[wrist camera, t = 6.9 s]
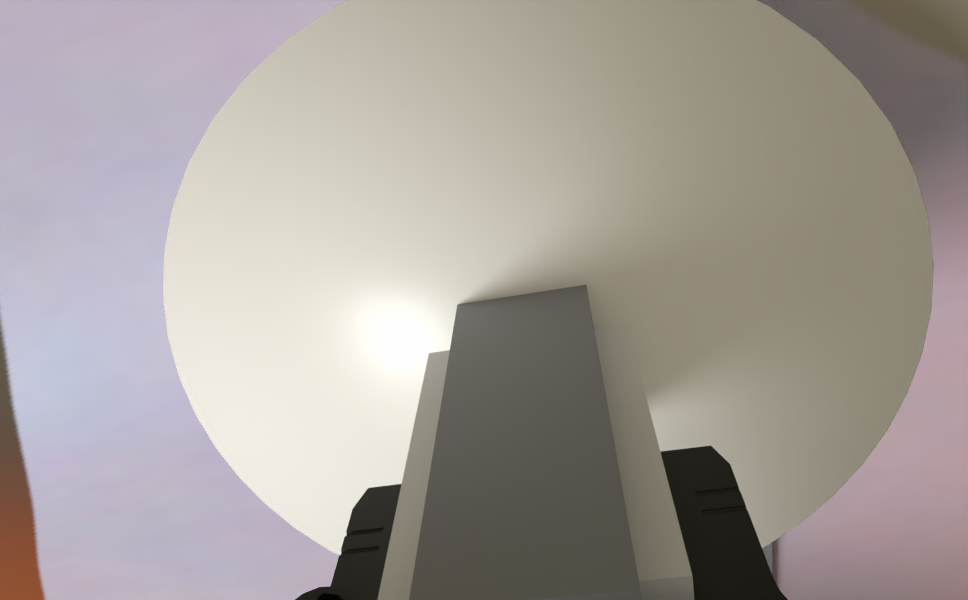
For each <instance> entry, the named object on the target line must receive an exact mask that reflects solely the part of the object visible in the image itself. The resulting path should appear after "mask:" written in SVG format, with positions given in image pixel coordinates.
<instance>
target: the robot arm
mask: <svg viewBox="0 0 968 600" xmlns="http://www.w3.org/2000/svg"><path fill="white" fill-rule="evenodd" d="M594 331H595V336H596V342H597V348H598V353H599V359H600V365H601V370H602V376H603V382H604V387H605V393H606V399H607V404H608V410H609V416H610V421H611V427H612V432H613V438H614V444H615V449H616V455H617V461H618V466H619V472H620V478H621V483H622V489H623V495H624V500H625V506H626V512H627V517H628V523H629V529H630V534H631V540H632V546H633V551H634V557H635V563H636V568H637V574H638V579H639V585H640V591H641V598H642V600H788V599H787V598H786V597H785V596H784V595H783V594H782V593H781V591H780V590H779V588H778V586H777V584H776V582H775V581H774V578H773V576H772V573H771V570H770V568H769V565H768V563H767V560H766V557H765V555H764V552H763V549H762V547H761V544H760V542H759V539H758V536H757V534H756V531H755V528H754V526H753V523H752V520H751V518H750V515H749V513H748V510H747V509H746V505H745V502H744V499H743V497H742V494H741V492H740V491H739V486H738V484H737V481H736V478H735V476H734V473H733V470H732V468H731V465H730V463H728V462H727V461H726V460H725V459H724V458H723V457H722V456H721V455H720V454H719V453H718V452H717V451H716V450H715V449H714V448H713V447H712V446H703V447H695V448H686V449H678V450H669V451H661V452H660V448H659V445H658V441H657V437H656V433H655V429H654V425H653V421H652V418H651V414H650V410H649V406H648V402H647V398H646V394H645V391H644V387H643V383H642V379H641V375H640V371H639V367H638V363H637V360H636V356H635V352H634V348H633V344H632V340H631V336H630V333H629V329H628V325H627V324H625V325H618V326H612V327H605V328H598V329H594ZM449 352H450V350H447V351H440V352H433V353H429V355H428V360H427V365H426V369H425V374H424V379H423V384H422V389H421V393H420V398H419V403H418V408H417V413H416V417H415V422H414V427H413V432H412V436H411V441H410V446H409V451H408V456H407V460H406V465H405V470H404V475H403V480H402V484H397V485H388V486H380V487H372V488H368V489H367V490H366V491H365V493H364V494H363V496H362V497H361V498H360V500H359V501H358V502H357V504H356V505H355V506H354V508H353V509H352V513H351V516H350V520H349V523H348V527H347V530H346V533H347V535H346V536H345V537H344V541H343V545H342V548H341V555H339V559H338V562H337V566H336V569H335V573H334V576H333V580H332V584H331V587H319V588H317V589H314V590H311V591H309V592H306V593H304V594H302V595H301V596H300V597H298V598H297V599H296V600H409V597H410V591H411V584H412V578H413V572H414V566H415V560H416V554H417V548H418V542H419V535H420V529H421V523H422V517H423V511H424V505H425V499H426V493H427V486H428V480H429V474H430V468H431V462H432V456H433V450H434V444H435V438H436V431H437V425H438V419H439V413H440V407H441V401H442V395H443V389H444V382H445V376H446V370H447V364H448V358H449Z"/></svg>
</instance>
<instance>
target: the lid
mask: <svg viewBox="0 0 968 600" xmlns="http://www.w3.org/2000/svg"><path fill="white" fill-rule="evenodd" d="M933 267H934V264H933V255H932V247H931V238H930V230H929V221H928V216H927V212H926V209H925V205H924V202H923V199H922V195H921V192H920V188H919V185H918V182H917V178H916V175H915V172H914V169H913V167H912V165H911V163H910V161H909V159H908V157H907V155H906V153H905V151H904V149H903V147H902V145H901V143H900V141H899V139H898V137H897V135H896V133H895V131H894V129H893V127H892V125H891V123H890V122H889V120H888V119H887V118H886V116H885V115H884V114H883V112H882V111H881V109H880V108H879V107H878V105H877V104H876V103H875V101H874V100H873V98H872V97H871V96H870V94H869V93H868V92H867V90H866V89H865V88H864V86H863V85H862V83H861V82H860V81H859V80H858V79H857V78H856V77H855V76H854V75H853V74H852V73H851V72H850V71H849V70H848V69H847V68H846V67H845V66H844V65H843V64H842V63H841V62H840V61H839V60H838V59H837V58H836V57H835V56H834V55H833V54H832V53H831V52H830V51H829V50H828V49H826V48H825V47H824V46H823V45H822V44H821V43H820V42H819V41H818V40H817V39H816V38H814V37H813V36H811V35H810V34H808V33H807V32H805V31H804V30H803V29H801V28H800V27H798V26H797V25H795V24H794V23H792V22H791V21H790V20H788V19H787V18H785V17H784V16H782V15H781V14H779V13H778V12H777V11H775V10H774V9H772V8H771V7H769V6H768V5H766V4H764V3H762V2H759V1H757V0H347V1H345V2H343V3H341V4H339V5H337V6H335V7H334V8H332V9H331V10H329V11H328V12H326V13H325V14H323V15H322V16H320V17H319V18H317V19H316V20H314V21H313V22H311V23H310V24H309V25H307V26H306V27H304V28H303V29H301V30H300V31H298V32H297V33H295V34H294V35H292V36H291V37H289V38H288V39H286V40H285V41H284V42H283V43H282V44H281V45H280V46H279V47H278V48H277V49H276V50H275V51H274V52H273V53H271V54H270V55H269V56H268V57H267V58H266V59H265V60H264V61H263V62H262V63H261V64H260V65H259V66H257V67H256V68H255V69H254V70H253V71H252V72H251V73H250V74H249V75H248V76H247V77H246V78H245V79H244V80H243V81H242V83H241V84H240V85H239V87H238V88H237V89H236V90H235V92H234V93H233V94H232V96H231V97H230V98H229V99H228V101H227V102H226V103H225V104H224V106H223V107H222V108H221V110H220V111H219V112H218V113H217V115H216V116H215V117H214V118H213V120H212V122H211V124H210V125H209V127H208V129H207V131H206V133H205V134H204V136H203V138H202V140H201V142H200V143H199V145H198V147H197V149H196V151H195V152H194V154H193V156H192V158H191V160H190V162H189V163H188V166H187V169H186V172H185V175H184V177H183V180H182V183H181V186H180V188H179V191H178V194H177V197H176V200H175V202H174V205H173V208H172V213H171V219H170V224H169V229H168V235H167V240H166V245H165V251H164V277H163V300H164V308H165V316H166V324H167V332H168V339H169V342H170V346H171V349H172V353H173V357H174V360H175V364H176V367H177V371H178V375H179V378H180V380H181V382H182V384H183V387H184V389H185V391H186V394H187V396H188V398H189V401H190V403H191V405H192V407H193V410H194V412H195V414H196V416H197V417H198V419H199V421H200V422H201V424H202V426H203V427H204V429H205V431H206V432H207V434H208V436H209V437H210V439H211V441H212V442H213V444H214V446H215V447H216V448H217V450H218V451H219V452H220V454H221V455H222V456H223V457H224V459H225V460H226V461H227V463H228V464H229V465H230V466H231V468H232V469H233V470H234V471H235V473H236V474H237V475H238V477H239V478H240V479H241V480H242V481H243V482H244V483H245V484H246V485H247V486H248V487H249V488H250V489H251V490H252V491H253V492H254V493H255V494H256V495H257V496H258V497H259V498H260V499H261V500H262V501H263V502H264V503H265V504H266V505H267V506H269V507H270V508H271V509H272V510H273V511H275V512H276V513H277V514H278V515H280V516H281V517H282V518H283V519H285V520H286V521H287V522H288V523H289V524H291V525H292V526H293V527H294V528H296V529H297V530H299V531H300V532H302V533H303V534H305V535H306V536H308V537H309V538H311V539H313V540H314V541H316V542H317V543H319V544H320V545H322V546H323V547H325V548H326V549H328V550H330V551H332V552H334V553H336V554H338V555H341V548H342V545H343V541H344V537H345V536H346V535H347V533H346V530H347V527H348V523H349V520H350V516H351V513H352V509H353V508H354V506H355V505H356V504H357V502H358V501H359V500H360V498H361V497H362V496H363V494H364V493H365V491H366V490H367V489H368V488H372V487H380V486H388V485H397V484H402V480H403V475H404V470H405V465H406V460H407V456H408V451H409V446H410V441H411V436H412V432H413V427H414V422H415V417H416V413H417V408H418V403H419V398H420V393H421V389H422V384H423V379H424V374H425V369H426V365H427V360H428V355H429V353H433V352H440V351H447V350H450V352H449V358H448V364H447V370H446V376H445V382H444V389H443V395H442V401H441V407H440V413H439V419H438V425H437V431H436V438H435V444H434V450H433V456H432V462H431V468H430V474H429V480H428V486H427V493H426V499H425V505H424V511H423V517H422V523H421V529H420V535H419V542H418V548H417V554H416V560H415V566H414V572H413V578H412V584H411V591H410V597H409V600H642V598H641V591H640V585H639V579H638V574H637V568H636V563H635V557H634V551H633V546H632V540H631V534H630V529H629V523H628V517H627V512H626V506H625V500H624V495H623V489H622V483H621V478H620V472H619V466H618V461H617V455H616V449H615V444H614V438H613V432H612V427H611V421H610V416H609V410H608V404H607V399H606V393H605V387H604V382H603V376H602V370H601V365H600V359H599V353H598V348H597V342H596V336H595V331H594V329H598V328H605V327H612V326H618V325H625V324H627V325H628V329H629V333H630V336H631V340H632V344H633V348H634V352H635V356H636V360H637V363H638V367H639V371H640V375H641V379H642V383H643V387H644V391H645V394H646V398H647V402H648V406H649V410H650V414H651V418H652V421H653V425H654V429H655V433H656V437H657V441H658V445H659V448H660V452H661V451H669V450H678V449H686V448H695V447H703V446H712V447H713V448H714V449H715V450H716V451H717V452H718V453H719V454H720V455H721V456H722V457H723V458H724V459H725V460H726V461H727V462H728V463H730V465H731V468H732V470H733V473H734V476H735V478H736V481H737V484H738V486H739V491H740V492H741V494H742V497H743V499H744V502H745V505H746V509H747V510H748V513H749V515H750V518H751V520H752V523H753V526H754V528H755V531H756V534H757V536H758V539H759V542H760V544H761V547H762V548H763V547H765V546H767V545H769V544H770V543H772V542H773V541H775V540H776V539H778V538H779V537H781V536H782V535H784V534H785V533H787V532H788V531H789V530H791V529H792V528H794V527H795V526H797V525H798V524H800V523H801V522H803V521H804V520H805V519H806V518H807V517H809V516H810V515H811V514H812V513H813V512H814V511H816V510H817V509H818V508H819V507H820V506H822V505H823V504H824V503H825V502H826V501H827V500H829V499H830V498H831V497H832V496H833V495H834V494H835V493H836V492H837V491H838V490H839V489H840V488H841V487H842V486H843V485H844V484H845V483H846V482H847V480H848V479H849V478H850V477H851V476H852V475H853V474H854V473H855V472H856V471H857V470H858V469H859V468H860V467H861V466H862V464H863V463H864V462H865V460H866V459H867V457H868V456H869V455H870V453H871V452H872V451H873V449H874V448H875V446H876V445H877V444H878V442H879V441H880V440H881V438H882V437H883V436H884V434H885V433H886V431H887V430H888V428H889V426H890V424H891V422H892V420H893V419H894V417H895V415H896V413H897V411H898V409H899V408H900V406H901V404H902V402H903V400H904V398H905V397H906V395H907V393H908V390H909V387H910V385H911V382H912V379H913V377H914V374H915V371H916V369H917V366H918V363H919V361H920V358H921V355H922V352H923V347H924V342H925V338H926V333H927V328H928V324H929V319H930V314H931V307H932V287H933Z"/></svg>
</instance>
